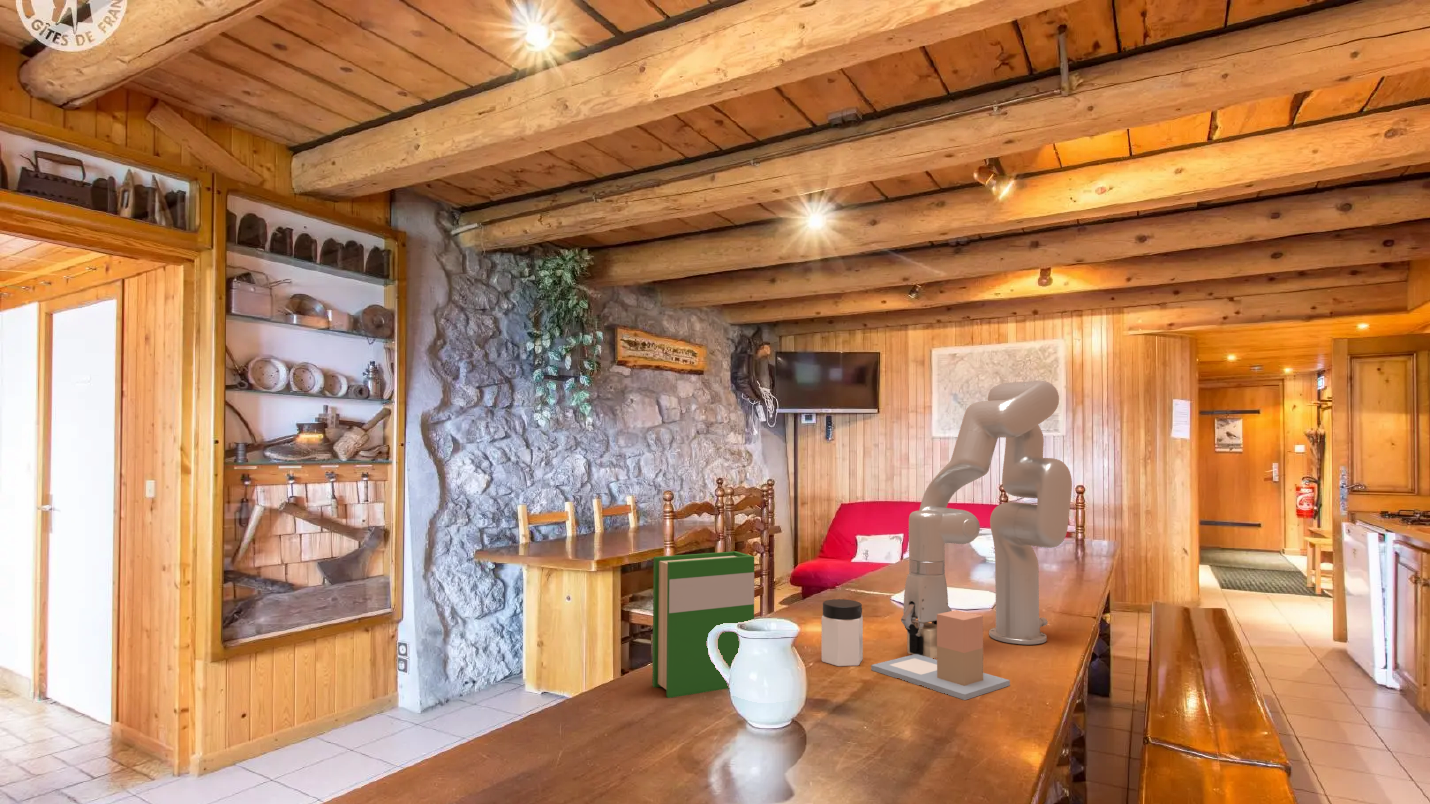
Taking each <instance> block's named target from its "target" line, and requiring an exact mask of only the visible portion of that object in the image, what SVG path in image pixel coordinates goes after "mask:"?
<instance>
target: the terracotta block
mask: <svg viewBox="0 0 1430 804" xmlns="http://www.w3.org/2000/svg"><path fill="white" fill-rule="evenodd" d="M937 646H939V647H943V648H947V649H951V650H955V651H958V652H962V653H966V652H970V651H973V650H977V649H981V648H983V649H984V615H981V614H975V613H971V612H965V611H962V610H956V609H955V610H952V611H950V612H945V613H940V614H937Z"/></svg>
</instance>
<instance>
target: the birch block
mask: <svg viewBox="0 0 1430 804" xmlns="http://www.w3.org/2000/svg"><path fill="white" fill-rule="evenodd" d="M917 626H918V624H915V627H916V628H917ZM921 636H923V655H922V656H926V657H929V658H934V659H937V625H936V624H932V622H928V623H924V626H923V629H922V633H921ZM906 640H907V642H906V643H907V645H906V647H907V650H906V651H907V652H906V653H907V654H909V655H914V654H913V653H910V642H909V634H908V633H906Z"/></svg>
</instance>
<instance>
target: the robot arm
mask: <svg viewBox="0 0 1430 804" xmlns="http://www.w3.org/2000/svg"><path fill="white" fill-rule="evenodd" d="M1059 403H1060V396H1059V392H1058V390H1057V388H1056V387H1055V385H1054V384H1052V383H1051V382H1049V381H1045V380H1033V381H1032V380H1031V381H1029V380H1028V381H1015V382H1004V383H1000V384H997V385H995V386H993V387H992V388H990V389H989V391H988V395H987V400H983V401H976V402H973V403H971V404H970V405H969V406H968V407H967V408H966V410H965V412H964V414H963V419H962V421H961V424H960V427H959V431H958V435H957V437H956V441H955V445H954V448H953V452H952V455H951V459H949V460H950V461H949V462H948V463H947V464H946V465H945V466H944V467H943V468H942V469H941V470H940V471H939V472H938V473H937V475H935V477H934V478H933V479H932V480H931V482H930V483H929V484H928V486H926V489H925V491H924V494H923V496H922V499H921V502H920V506H919V509H918V510H915V511H912V512H911V513H910V514H909V517H908V574H906V579H905V585H904V594H903V610H902V612H903V615H902V617H901V618H900V621H901V623H902V625H903V626H904V628H905V630H906V632H907V633H908V634H909V642H910V653H913V654H919V655H923V636H921V633H922V629H923V626H924V623H932V624H936V625H937V614H940V613H945V612H950V611H953V610H952V609H951V607H950V605H949V596H948V595H949V594H948V586H947V577H946V573H945V571H946V570H945V569H946V568H945V567H946V565H945V564H946V560H945V558H946V557H945V552H946V551H945V550H946V549H945V548H946V547H945V545H946V544H956V545H968V544H970V543H971V542H973V541H975V539H976V538H977V537H978V536H979V535H980V531H981V525H980V521H979V519H978V518H977V517H976V515H974V514H973V513H972V512H970V511H968V510H965V509H956V508H951V507H948V505H949V502H950V500H951V499H952V497H953V496H954V495H955V494H956V492H958V491H959V490H960V489H962V487H964V486H966V485H968V484H970V483H972V482H974V481H976V480H978V479H980V478H982V477H983V476H985V475H986V474H987V473H988V472H989V470H990V467H991V463H992V460H993V456H994V452H995V449H996V446H997V442H998V439H999V438H1000V439H1001V438H1005V444H1004V445H1005V448H1004V455H1003V457H1004V458H1003V464H1002V465H1003V466H1002V475H1001V485H1002V488H1003V490H1004V492H1006V493H1007V494H1008V495H1011V496H1014V497H1018V498H1027V499H1037V500H1036V501H1037V502H1036V503H1037V504H1034V503H1027V502H1012V501H1010V502H1003V503H1001V504H1000V503H999V504H998V505H997V506H996V507H995V508H994V509H993V510H992V512H991V514H990V517H989V518H990V519H989V525H990V527H989V528H990V530H991V531H990V532H991V536H992V542H993V547H994V560H995V561H994V565H995V566H994V567H995V568H994V569H995V574H994V575H995V577H994V579H995V583H994V585H995V627H992V628H990V630H989V631H988V635H989V637H990V638H991V639H993V640H996V641H999V642H1003V643H1007V644H1012V645H1013V644H1014V645H1015V644H1018V645H1029V646H1030V645H1040V644H1044V643H1046V642H1047V641H1048V638H1047V636H1048V635H1047V634H1046V633H1044V632H1042V631H1041V627H1045V626H1047V625H1048V623H1049V622H1048V619H1047V618H1046V617H1044V616H1043V617H1040V592H1039V591H1040V590H1039V589H1040V588H1039V587H1040V585H1039V584H1040V583H1039V582H1040V581H1039V580H1040V579H1039V576H1040V575H1039V572H1040V567H1039V562H1038V561H1039V560H1038V557H1037V554H1036V552H1035V550H1034V548H1033V547H1036V548H1037V547H1039V548H1045V549H1048V548H1049V549H1053V548H1057V547H1059V546H1060V545H1061V544H1063V542H1064V540H1065V538H1066V536H1067V533H1068V527H1069V521H1070V510H1071V500H1072V490H1073V480H1072V475H1071V471H1070V469H1069V467H1068V466H1067V465H1066V463H1065V462H1063V461H1062V460H1060V459H1057V458H1053V457H1044V448H1045V447H1044V446H1045V445H1044V442H1045V439H1044V434H1043V431H1042V428H1041V427H1040V424H1041V423H1043V422H1044V421H1046V420H1048V419H1049V418H1050V417H1051V416H1052V415H1054V414H1055V412H1056V411H1057V409H1058V405H1059ZM915 624H918V626H917V628H916V627H915ZM907 633H906V634H907Z"/></svg>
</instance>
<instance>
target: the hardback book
mask: <svg viewBox="0 0 1430 804" xmlns="http://www.w3.org/2000/svg"><path fill="white" fill-rule="evenodd" d="M652 578H653V580H652V581H653V586H652V587H653V591H652V592H653V593H652V598H653V599H652V601H653V602H652V605H653V606H652V683H651V684H652V685H651V686H652V687H653V688H660V687H661V688H663V689H664V690H666V691H665V692H666V693H665V694H666V696H665V697H666V698H667V699H671V698H677V697H684V696H690V695H696V694H702V693H709V692H714V691H721V690H726V689H729V688H728V686H727V683H726V681H725V680H724V678H723V677H722V675H721V674H720V672H719V671H718V670H716V668H715V665H714V664H713V663H712V662H711V660H710V657H709V655H708V648H707V646H706V641H707V637H708V633H709V632H710V631H711V630H712V629H713V628H714V627H715V626H716V625H720V624H723V623H738V622H744V621H748V620H751V619H754V620H755V556H753V555H752V554H751V555H750V554H747V553H744V552H740V551H722V552H720V551H719V552H707V553H706V552H705V553H692V554H677V555H676V554H675V555H662V556H661V555H660V556H654V557H653V577H652ZM738 648H739V641H738V636H737V634H736V633H734V632H725V633H722V634H721V635H720V637H719V639H718V649H719V650H720V653H721V655H723V659H724V660H725V661H726V663H728V665H729V666H731V663H732V660H733V659H734V657H735V655H736V654H737V653H738Z"/></svg>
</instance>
